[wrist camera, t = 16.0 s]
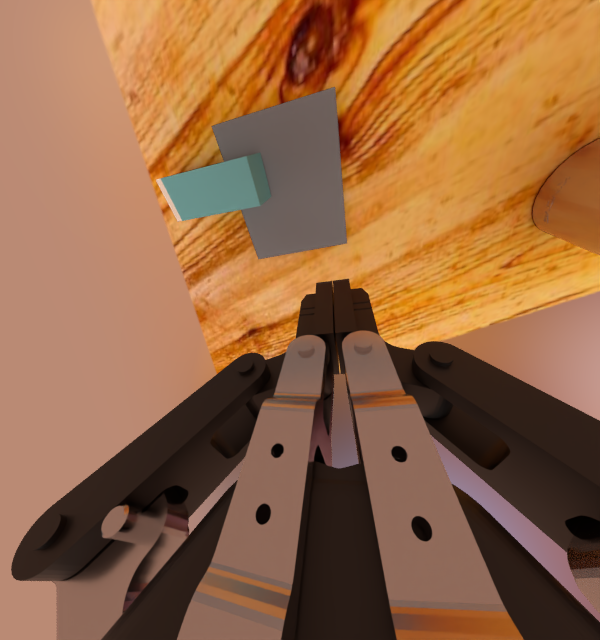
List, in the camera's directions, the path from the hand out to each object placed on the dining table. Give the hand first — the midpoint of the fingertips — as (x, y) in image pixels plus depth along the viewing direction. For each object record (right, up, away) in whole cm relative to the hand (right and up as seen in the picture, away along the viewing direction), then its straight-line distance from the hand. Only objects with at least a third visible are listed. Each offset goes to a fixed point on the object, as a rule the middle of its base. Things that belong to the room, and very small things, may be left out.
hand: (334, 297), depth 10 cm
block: (-6, +13, +11) cm, 18 cm away
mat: (-3, +14, +14) cm, 20 cm away
